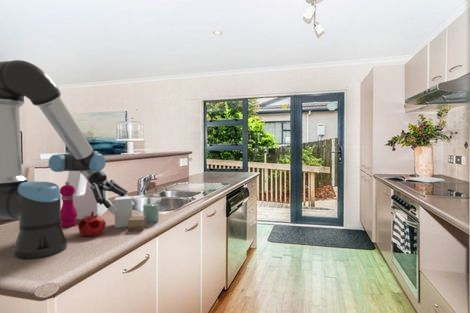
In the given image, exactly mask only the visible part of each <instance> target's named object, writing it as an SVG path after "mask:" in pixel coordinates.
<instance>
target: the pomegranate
mask: <svg viewBox="0 0 470 313" xmlns="http://www.w3.org/2000/svg"><path fill="white" fill-rule="evenodd" d="M98 215H100V214H98ZM98 215H95V216H94V212H92V214H91V215H90V216H87V217H85V216H84V218H83V219H79V222H78V224H77V228H78V231H79V235H81V236H83V237H96V236H100V235H101V234H102V233H103V232H105V229H106V224H107V223H106V221H105V220H104V219H103V218H101V216H98ZM97 216H98V217H97Z"/></svg>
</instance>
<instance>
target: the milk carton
mask: <svg viewBox="0 0 470 313" xmlns="http://www.w3.org/2000/svg"><path fill="white" fill-rule="evenodd" d="M101 171H103V172H104V168H103V169H102V170H101ZM104 173H105V172H104ZM66 182H69V183H70V184H69V185H72V186H74V188H75V193H74V194H73V195H74V198H73V204H74V207H75V209H76V211H77V217H76V219H75V220H81V219H83V218H84V216H85V217H87V216H90V215H91V214H92V212H94V216H95V215H98V214H100V215H98V216H100V217H101V216H102V215H103V214H104V213H106V212H107V211H109V210H108V209H107V208H106V207H105V206H104V205H103V204H102V205H100V204H99V203H97V202H96V199H95V196H94V193H93V191H92V189H91V188H90V186H91V184H90V183H89V182H88V180H87V179H86V178H85V177H84V176H83V174H82V173H81V172H80V171H68V175H67V180H66ZM108 192H109V191H105V193H106V200H107V199H108V198H109V197H108V196H109V193H108ZM108 200H109V199H108ZM98 216H97V217H98Z"/></svg>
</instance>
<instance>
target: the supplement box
mask: <svg viewBox="0 0 470 313" xmlns="http://www.w3.org/2000/svg"><path fill="white" fill-rule="evenodd" d="M132 201H133V197H132V195H127V196H126V197H122V196H115V198H114V199H113V203H114V204H113V205H114V207H115V208H116V209H117V211H116V212H115V213H114V228H115V229H118V228H125V227H126V228H127V227H128V220H129V219H130V218H131V217H132V216H133V206H132Z"/></svg>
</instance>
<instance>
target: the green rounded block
mask: <svg viewBox="0 0 470 313" xmlns="http://www.w3.org/2000/svg"><path fill="white" fill-rule="evenodd" d="M142 208H143V210H142V213H143V215H142V216H146V223H153V224H156V223H155V222H157V223H159V222H160V219H159V217H160V212H159V204H158V203H145V204H143V206H142ZM158 221H159V222H158Z"/></svg>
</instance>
